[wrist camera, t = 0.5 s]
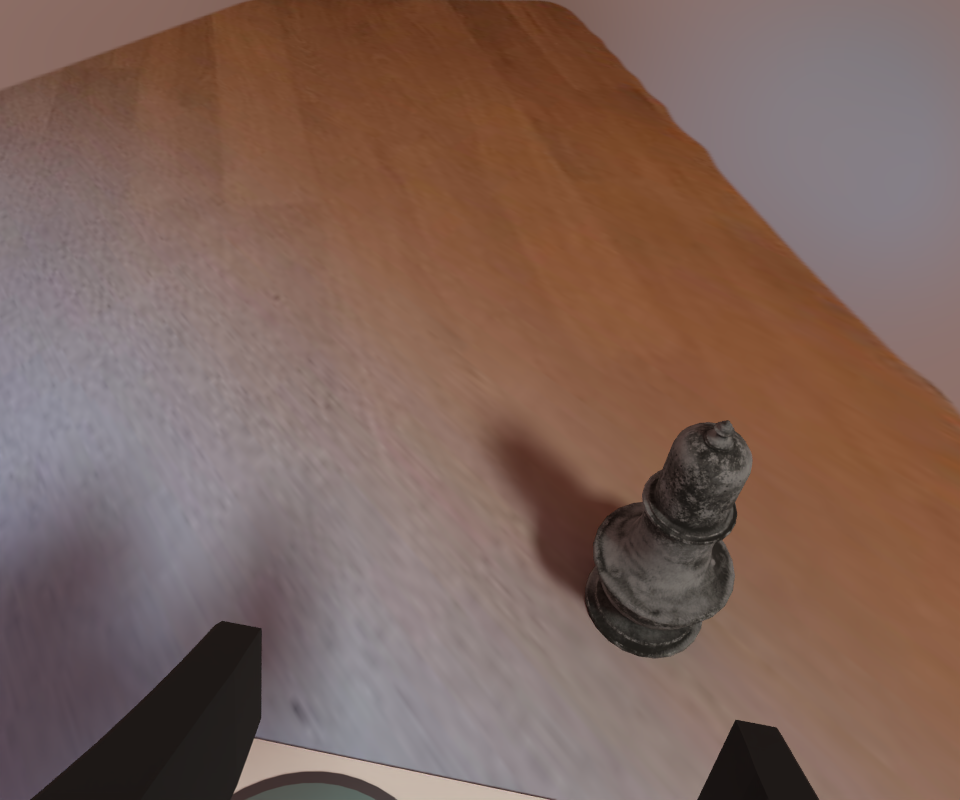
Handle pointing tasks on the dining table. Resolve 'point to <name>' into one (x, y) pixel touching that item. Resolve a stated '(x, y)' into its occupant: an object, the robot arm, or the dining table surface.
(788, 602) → the dining table surface
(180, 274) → the dining table surface
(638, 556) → the salt shaker
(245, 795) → the picture sheet
